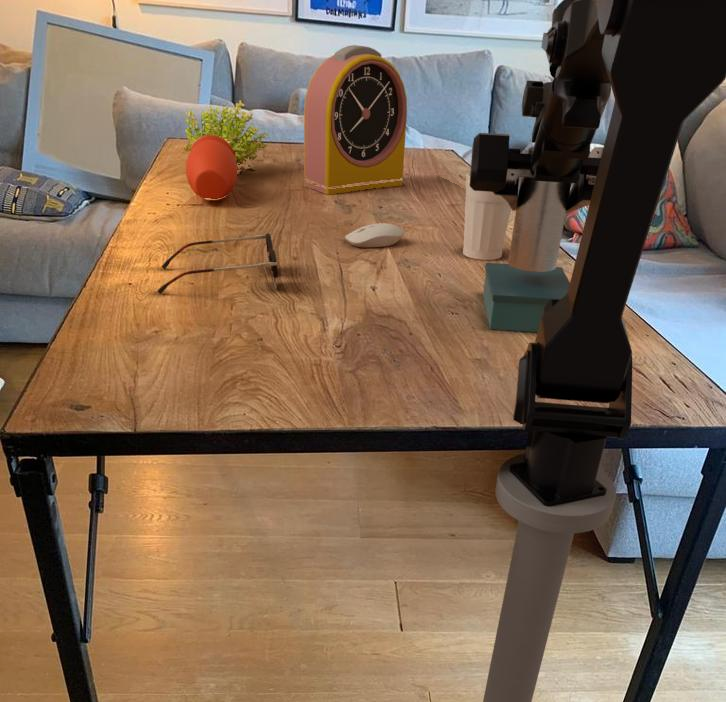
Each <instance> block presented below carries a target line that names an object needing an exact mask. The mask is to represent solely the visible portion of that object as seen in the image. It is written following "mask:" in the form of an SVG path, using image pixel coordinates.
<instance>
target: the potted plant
mask: <svg viewBox="0 0 726 702" xmlns="http://www.w3.org/2000/svg"><path fill="white" fill-rule="evenodd" d="M224 107H225V108H224ZM242 107H245V103H243V102H242V99H239V101H238V102H236V103H235V107H234V106H233V107H232V108H231V107H229V106H228V105H226V106H223V107H222V109H221V107H216V108H212V104H209V109H206V111H204V110H201V111H202V112H201V117H200V121H198V120H197V118H196V117H195V115H196V114H195V112H192V109H189V110H188V112H187V111H186V112H185V115H187V117H185V124H187V125H189V126H187V128H185V129H184V131H185V133H186V134H185V135H186V137H187V139H188V143H187V144H189V145H186V146H185V147H183V150H184V151H185V152H189V153H188V155H187V159H186V164H185V175H186V180H187V183H188V185H189V187H190V189H191V190H192V191H193V192H194V193H195V195H197V196H198V195H199V196H200V197H199V196H198V197H199V198H201V197H202V198H201V199H202V200H205V199H203V198H211V199H218V198H222V197H224V196H226V195H228V194H229V193H230V194H231V193H232V192H233V190H234V189H235V186H236V183H237V179H238V176H237V170H238V168H237V163H238V165H240V164H243V163H246V162H247V160H249V161H252V160H254V159H255V158H256V157H257V158H258V154H256V153H258V150H259V149H266V148H267V147H268V144H265V142H263V143H262V139H266V136H267V137H268V136H269V135H268V133H267V132H263V133H262V132H260V129H259V128H258V126H255V127H254V124H252V125H249V123H248V122H250V120H252V119H253V118H252V117H253V113H250V114H249V113H247V112H246V111H245V110H242V109H243V108H242ZM220 109H221V110H222V111H221V112H220V111H219V110H220ZM203 111H204V112H203ZM209 111H210V112H209ZM233 111H234V112H233ZM219 114H220V116H219ZM238 115H241V117H240V116H238ZM219 118H220V120H218V119H219ZM199 123H201V124H200V125H201V128H198V126H199ZM246 125H249V127H247V129H246ZM192 131H194V134H193V132H192ZM243 132H244V133H243ZM258 132H260V134H259V135H258ZM242 134H243V135H242ZM255 135H257V136H255ZM251 138H252V139H251ZM254 155H255V156H254ZM254 161H255V160H254ZM239 163H240V164H239ZM230 194H229V195H230ZM229 195H228V196H229ZM224 199H225V198H222V199H220V200H216V201H215V202H218V201H222V200H224ZM205 201H207V202H209V201H208V200H205Z"/></svg>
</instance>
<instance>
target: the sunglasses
mask: <svg viewBox="0 0 726 702" xmlns="http://www.w3.org/2000/svg"><path fill="white" fill-rule="evenodd" d="M262 239H265V244H266V252H267V253H268V261H269V262H261V263H260V262H259V263H256V264H248V265H237V266H226V267H217V268H216V267H215V268H205V269H195V270H194V269H193V270H188V271H184V272H181V273H179V274H178V275H176V276H175V277H173V278H172V279H170V280H169V281H167V282H166V283H164V284H162V286H160V287H159V288H158V289H157V293H159V294H162V293H163V292H164V291H166V289H167V288H168V286H170V285H171V284H173V283H174V282H176V281H177V280H179V279H181V278H183V277H184V276H187V275H193V274H203V273H212V272H214V273H215V272H221V271H223V272H224V271H231V270H232V271H233V270H241V269H251V268H265V267H270V273H271V274H272V278H273V285H274V288H275V289H277V288H278V286H277V285H278V284H277V279H278V278H279V273H278V271H279V270H278V260H277V255H276V251H275V249H274V246H273V241H272V237H271V233H265V234H261V235H254V236H246V237H245V236H244V237H235V238H223V239H214V240H213V239H212V240H202V241H195V242H194V241H193V242H189V243H186V244H185V245H183V246H182V247H180V248H179V249H178V250H177V251H176V252H175V253H173V254H172V255H171V256H170V257H169V258H167V260H165V261H164V262H163V264H162V265H161V268H162V269H163V270H166V269H167V268H168V266H169V265H170V263H171V261H172V260H174V258H175V257H176V256H178V255H179V254H181V252H182V251H184V250H186V249H187V248H189V247H192V246H197V245H207V244H216V243H218V244H219V243H227V242H228V243H229V242H237V241H247V240H262Z"/></svg>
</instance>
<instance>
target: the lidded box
mask: <svg viewBox="0 0 726 702" xmlns="http://www.w3.org/2000/svg"><path fill="white" fill-rule="evenodd" d="M484 270H485V276H484V285H483V292H482V297H483V302H484V307H485V312H486V316H487V322H488V327H489V329H490V330H498V331H499V330H500V331H511V332H513V331H514V332H527V333H538V329H539V325H540V322H541V318H542V315H543V309H544V307H545V306H546V304H547V303H548V302H549V300H551V299H556V300H561V299H562V298H563V297H564V296H565V295H566V294H567V292H568V289H569V285H570V280H569V279H568V276H567V274H566V272H565V271H564V269H563V267H561V266H556V268H555V269H554V270H552V271H548V272H530V271H524V270H519V269H516V268H514V267H512V266H510V265H509V264H508V263H497V262H485V265H484Z"/></svg>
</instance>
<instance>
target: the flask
mask: <svg viewBox="0 0 726 702" xmlns="http://www.w3.org/2000/svg"><path fill="white" fill-rule="evenodd" d="M533 148H534V146H531V147H528V149H527V150H528V151H527V154H532V151H533ZM519 181H520V182H519V186H518V204H517V209H516V211H515V213H514V220H513V228H512V234H511V241H510V247H509V253H508V254H509V255H508V261H507V264H509V265H510V266H512V267H514V268H516V269H519V270H524V271H530V272H548V271H552V270H554V269H555V268H556V267H557V264H558V258H559V252H560V247H561V241H562V236H563V229H564V225H565V220H566V215H567V214H566V210H567V204H568V199H569V194H570V191H571V189H572V183H562V182H546V181H534V178H531V177H520V179H519Z"/></svg>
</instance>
